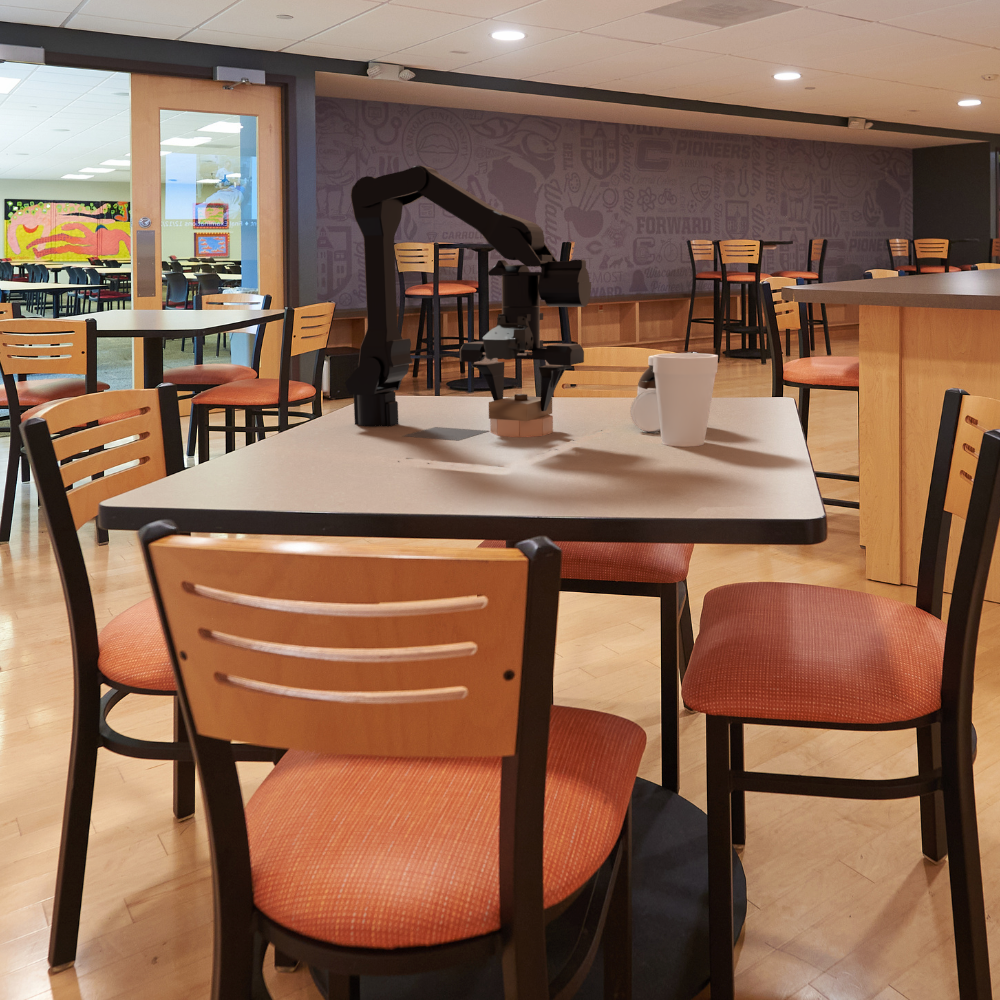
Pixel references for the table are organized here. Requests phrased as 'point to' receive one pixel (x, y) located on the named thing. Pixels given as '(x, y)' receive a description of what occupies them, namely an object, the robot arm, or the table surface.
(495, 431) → the bowl
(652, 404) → the spread jar
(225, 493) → the table surface
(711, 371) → the foam cup
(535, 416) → the lid
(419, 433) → the mat
